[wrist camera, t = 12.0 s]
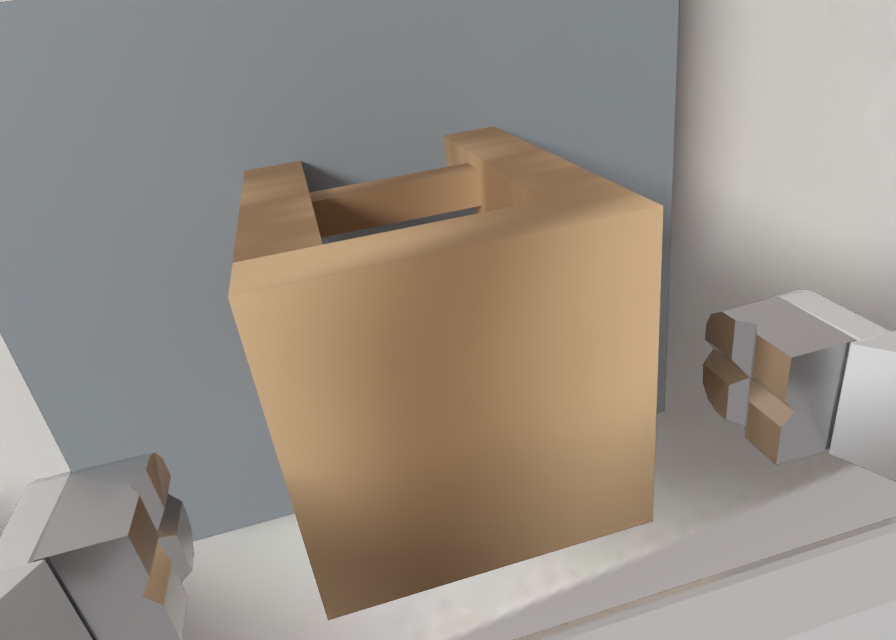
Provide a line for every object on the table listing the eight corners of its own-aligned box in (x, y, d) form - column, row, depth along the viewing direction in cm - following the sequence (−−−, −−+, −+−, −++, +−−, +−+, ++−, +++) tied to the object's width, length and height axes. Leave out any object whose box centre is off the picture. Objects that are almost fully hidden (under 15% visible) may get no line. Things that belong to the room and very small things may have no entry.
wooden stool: (494, 126, 14) (663, 206, 8) (512, 340, 17) (653, 521, 11) (244, 171, 13) (228, 297, 7) (303, 390, 16) (328, 619, 10)
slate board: (634, -75, 15) (682, -86, 14) (631, 378, 21) (664, 410, 19) (-100, 22, 13) (-159, 23, 11) (131, 510, 18) (117, 562, 17)
